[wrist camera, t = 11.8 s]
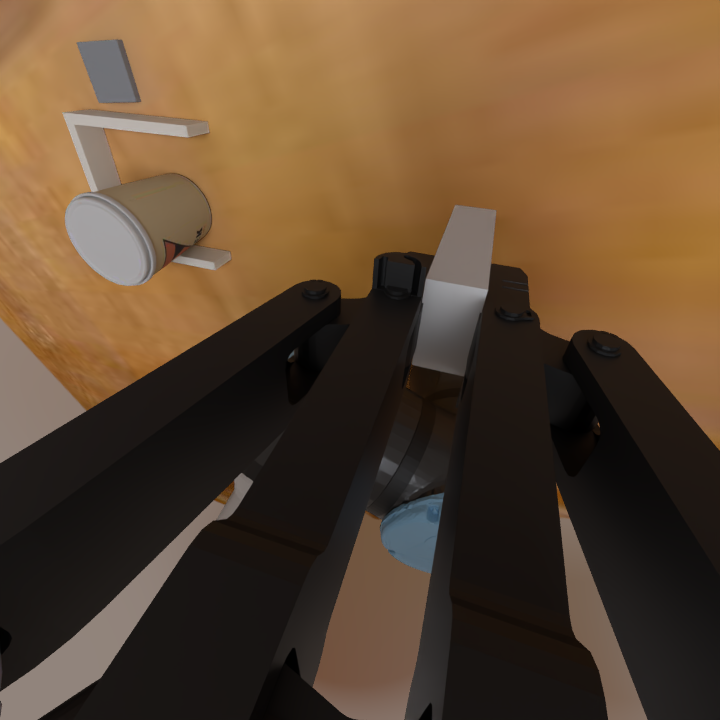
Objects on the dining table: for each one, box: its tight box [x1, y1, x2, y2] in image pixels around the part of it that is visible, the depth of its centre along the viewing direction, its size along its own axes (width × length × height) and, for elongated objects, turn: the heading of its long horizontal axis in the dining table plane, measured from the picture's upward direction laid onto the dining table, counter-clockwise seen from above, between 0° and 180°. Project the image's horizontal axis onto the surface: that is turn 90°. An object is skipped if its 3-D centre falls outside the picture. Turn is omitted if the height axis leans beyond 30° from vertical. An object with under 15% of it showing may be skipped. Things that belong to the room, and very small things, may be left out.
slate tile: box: [77, 40, 141, 103], centre depth 40 cm, size 5×5×1 cm
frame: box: [62, 109, 231, 270], centre depth 45 cm, size 15×15×4 cm
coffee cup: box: [65, 174, 211, 286], centre depth 42 cm, size 9×9×12 cm
